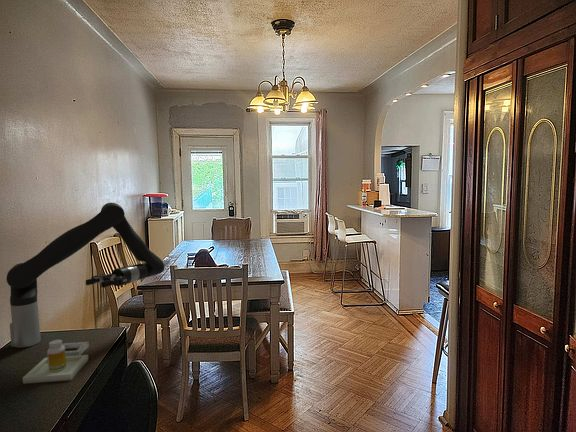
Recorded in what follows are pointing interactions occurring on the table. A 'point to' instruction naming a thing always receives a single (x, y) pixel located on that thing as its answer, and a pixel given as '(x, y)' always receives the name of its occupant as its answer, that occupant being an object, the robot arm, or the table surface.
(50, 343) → the supplement bottle
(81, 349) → the gray square frame
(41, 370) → the sage tray
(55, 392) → the table surface
